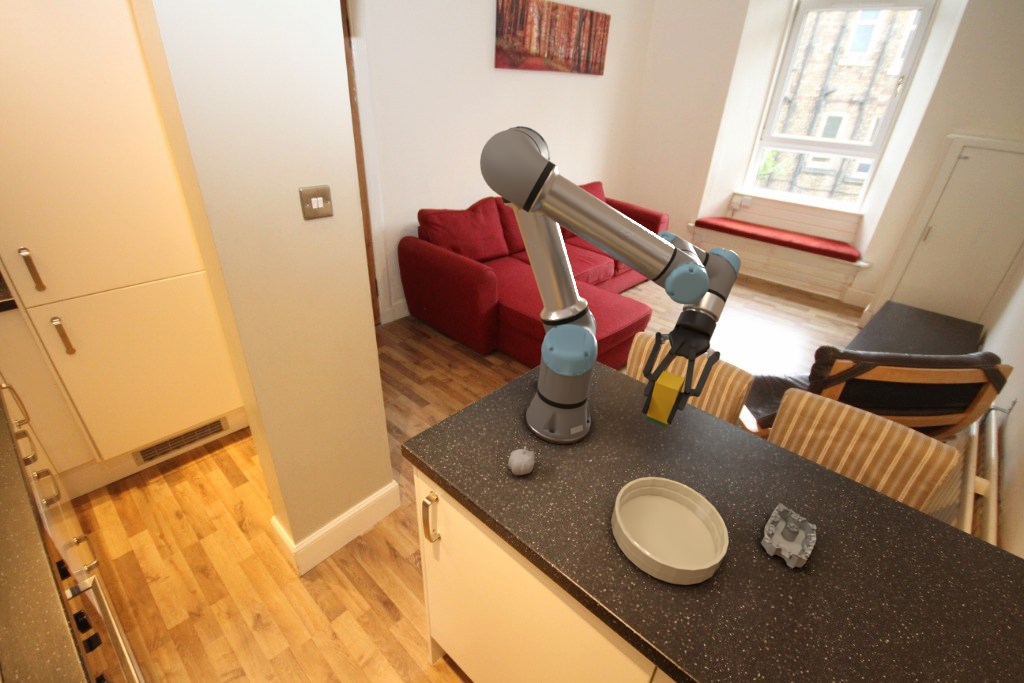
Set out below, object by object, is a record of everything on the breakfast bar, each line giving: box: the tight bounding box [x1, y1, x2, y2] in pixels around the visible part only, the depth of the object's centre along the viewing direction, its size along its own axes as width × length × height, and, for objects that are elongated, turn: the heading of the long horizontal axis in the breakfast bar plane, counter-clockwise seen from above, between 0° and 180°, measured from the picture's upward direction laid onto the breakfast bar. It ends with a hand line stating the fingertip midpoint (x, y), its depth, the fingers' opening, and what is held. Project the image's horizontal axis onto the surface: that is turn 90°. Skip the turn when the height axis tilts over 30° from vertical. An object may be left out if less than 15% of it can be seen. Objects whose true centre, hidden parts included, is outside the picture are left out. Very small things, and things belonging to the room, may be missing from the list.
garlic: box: [507, 445, 536, 476], centre depth 91 cm, size 6×5×5 cm
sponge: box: [645, 370, 686, 429], centre depth 92 cm, size 5×4×10 cm
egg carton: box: [760, 502, 817, 569], centre depth 80 cm, size 11×8×4 cm
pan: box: [610, 476, 730, 586], centre depth 80 cm, size 19×19×4 cm
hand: (656, 417), depth 90 cm, fingers closed on sponge, 4 cm apart
